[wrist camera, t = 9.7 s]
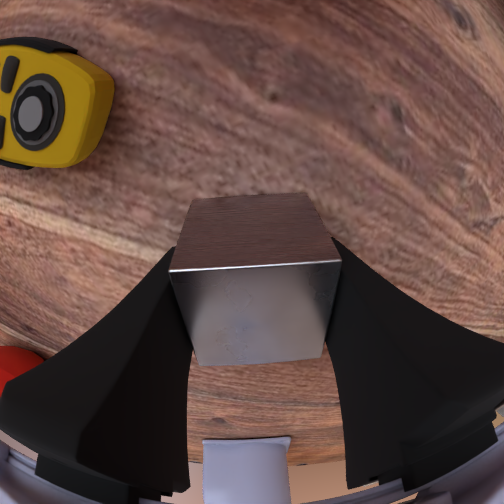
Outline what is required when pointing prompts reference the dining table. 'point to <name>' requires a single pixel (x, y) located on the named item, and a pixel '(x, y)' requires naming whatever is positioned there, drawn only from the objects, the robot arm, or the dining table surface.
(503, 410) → the mineral specimen
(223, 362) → the steel block
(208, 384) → the dining table surface
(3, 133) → the yellow walkie talkie
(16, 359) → the tomato
